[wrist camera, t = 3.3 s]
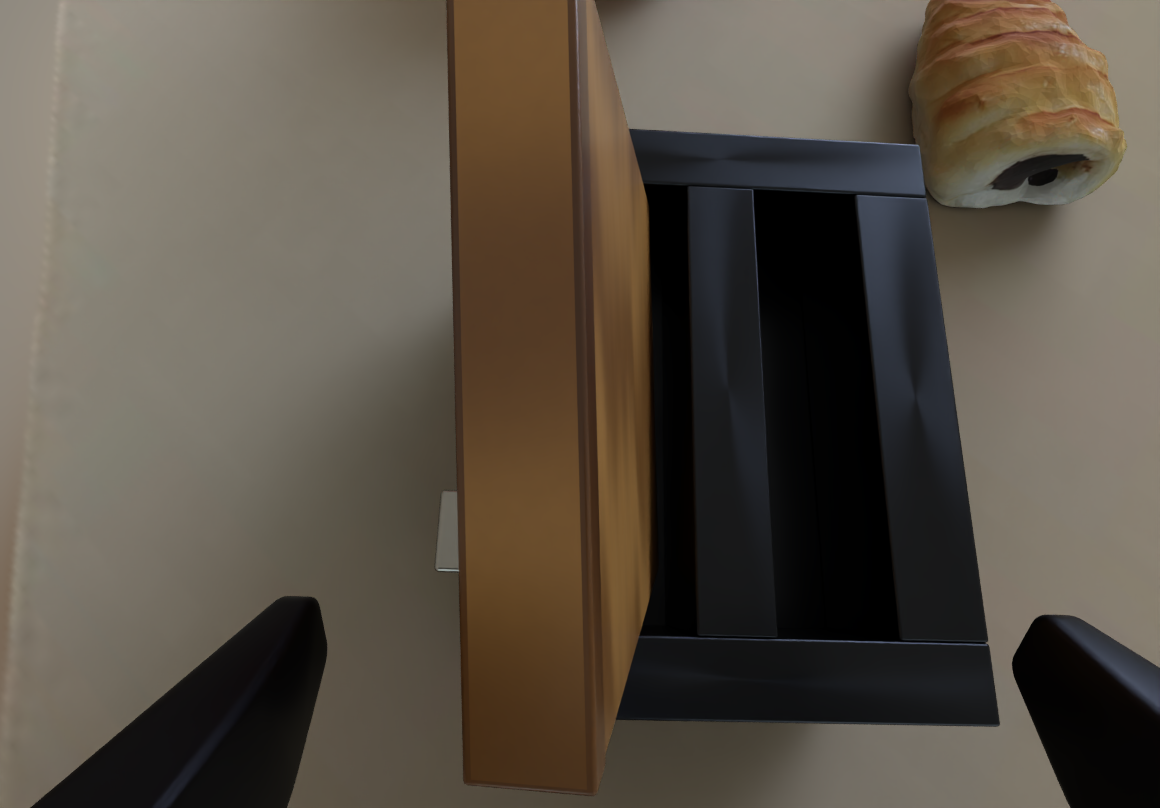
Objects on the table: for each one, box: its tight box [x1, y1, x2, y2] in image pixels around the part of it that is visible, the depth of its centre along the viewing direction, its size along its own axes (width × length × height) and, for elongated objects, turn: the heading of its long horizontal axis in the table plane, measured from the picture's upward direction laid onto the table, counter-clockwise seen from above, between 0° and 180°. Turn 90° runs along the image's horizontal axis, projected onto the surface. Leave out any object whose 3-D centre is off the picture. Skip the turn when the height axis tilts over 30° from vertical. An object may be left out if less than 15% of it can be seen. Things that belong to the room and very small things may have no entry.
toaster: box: [435, 129, 1000, 727], centre depth 17 cm, size 13×11×7 cm
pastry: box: [909, 0, 1127, 208], centre depth 23 cm, size 9×7×4 cm
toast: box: [446, 0, 659, 796], centre depth 11 cm, size 9×1×10 cm, turn 2°
